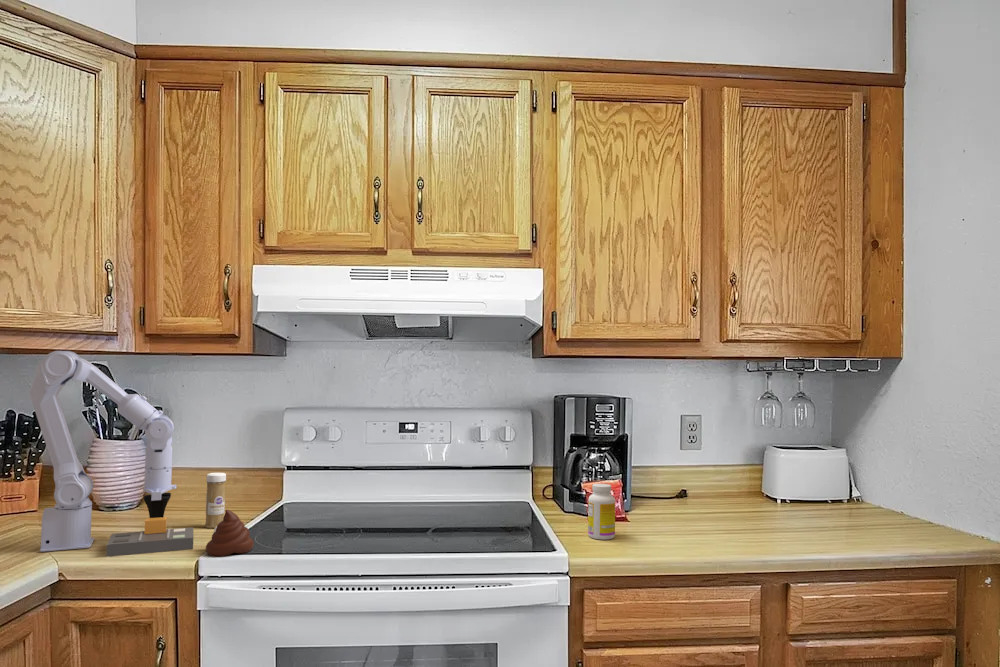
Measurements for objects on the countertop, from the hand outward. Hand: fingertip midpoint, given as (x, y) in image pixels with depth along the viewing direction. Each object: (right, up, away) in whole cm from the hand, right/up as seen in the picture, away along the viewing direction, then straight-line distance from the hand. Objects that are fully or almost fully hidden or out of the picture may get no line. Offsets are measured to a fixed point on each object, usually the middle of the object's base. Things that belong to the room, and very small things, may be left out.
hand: (156, 525), depth 161 cm
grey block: (+2, -3, -6) cm, 7 cm away
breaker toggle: (+1, -1, -3) cm, 4 cm away
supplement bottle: (+106, -6, +9) cm, 107 cm away
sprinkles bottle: (+8, -4, +13) cm, 16 cm away
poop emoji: (+21, -4, -9) cm, 23 cm away
